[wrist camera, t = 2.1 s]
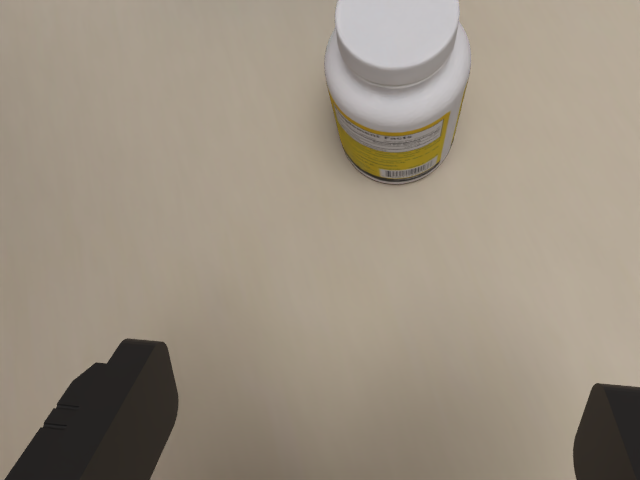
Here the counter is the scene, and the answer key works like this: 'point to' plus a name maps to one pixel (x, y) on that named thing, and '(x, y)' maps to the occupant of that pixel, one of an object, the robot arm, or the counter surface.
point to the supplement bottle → (397, 84)
